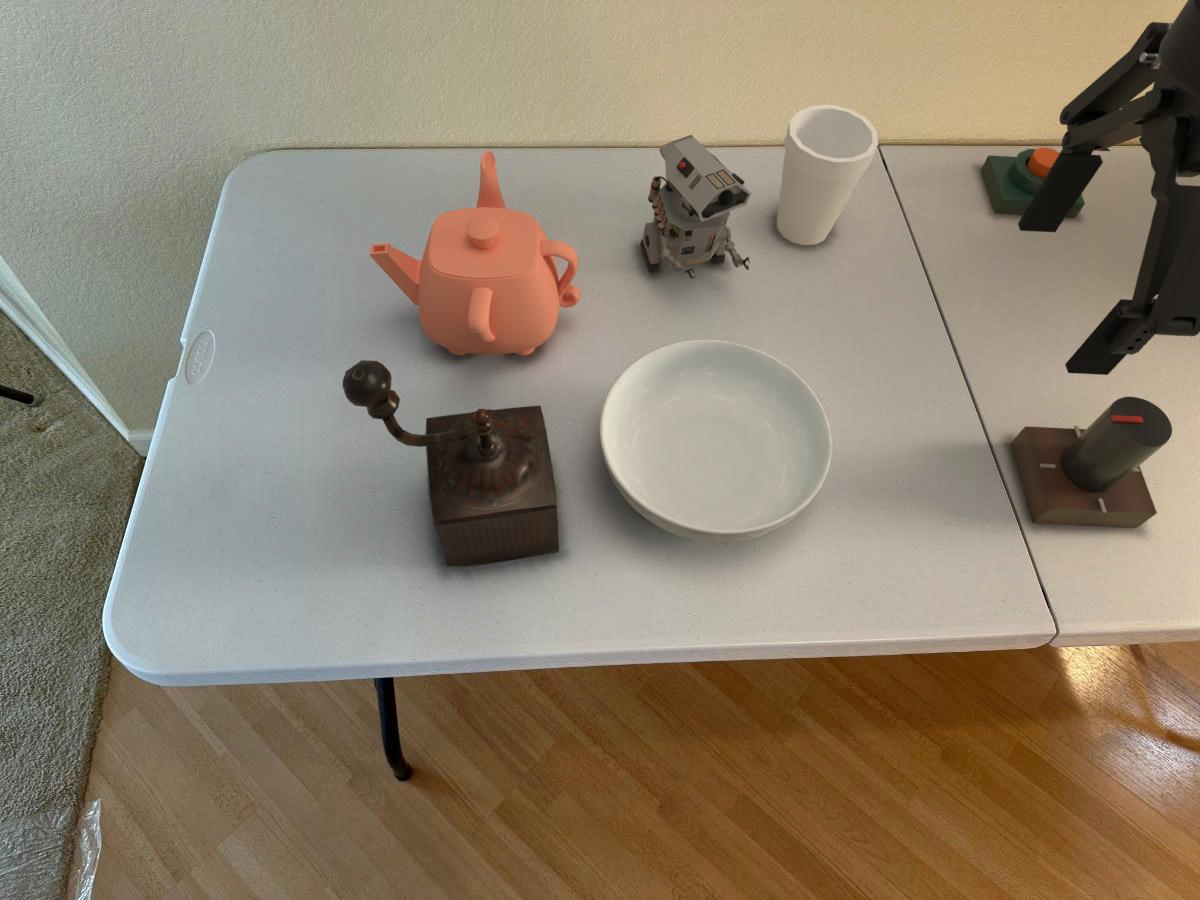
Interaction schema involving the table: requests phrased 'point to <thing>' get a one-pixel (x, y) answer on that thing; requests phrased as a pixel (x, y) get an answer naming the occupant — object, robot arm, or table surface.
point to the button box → (1015, 184)
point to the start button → (1042, 161)
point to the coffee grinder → (476, 473)
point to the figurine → (692, 209)
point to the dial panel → (1074, 485)
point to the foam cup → (821, 169)
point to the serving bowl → (714, 440)
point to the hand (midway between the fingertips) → (1059, 295)
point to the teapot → (485, 276)
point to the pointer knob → (1116, 444)
